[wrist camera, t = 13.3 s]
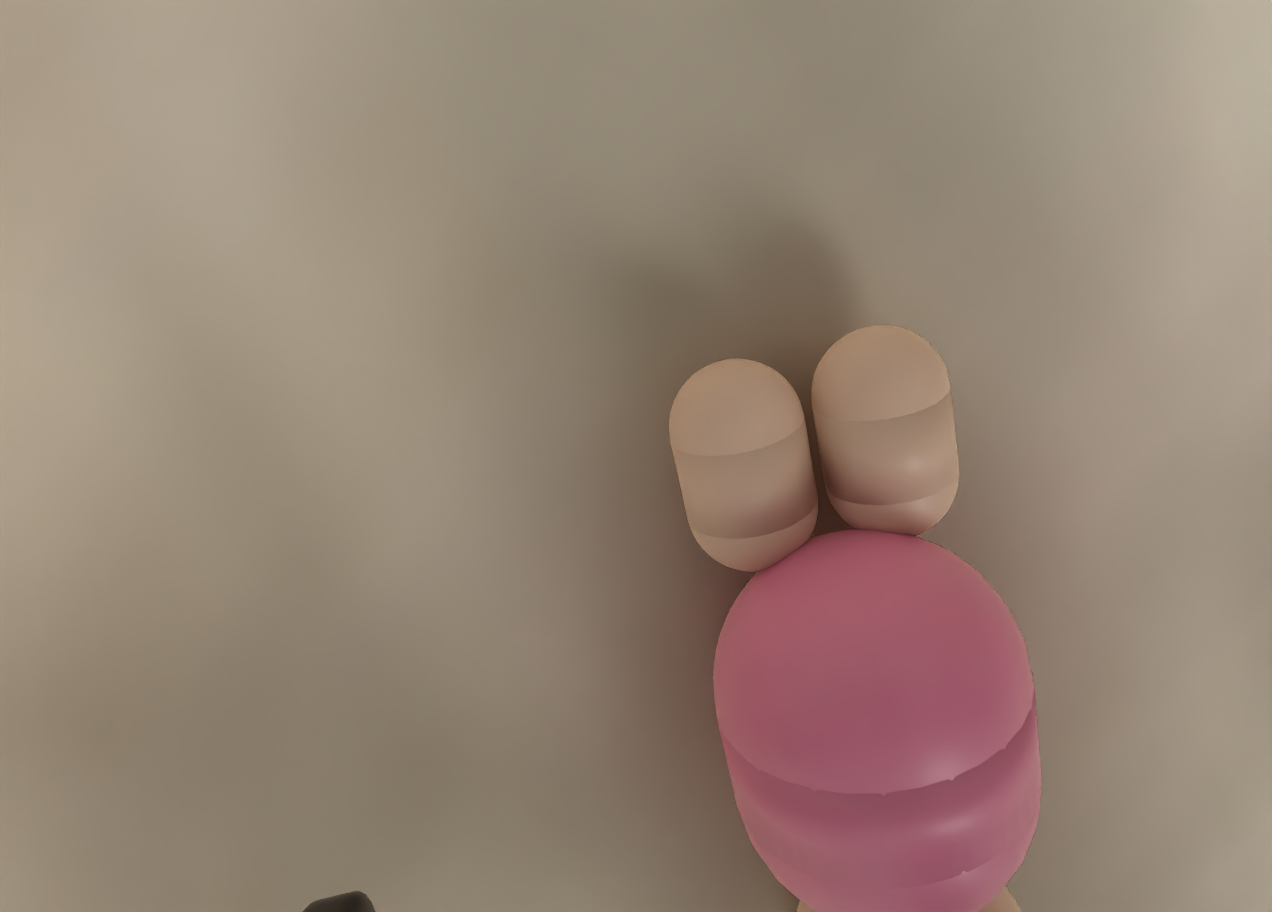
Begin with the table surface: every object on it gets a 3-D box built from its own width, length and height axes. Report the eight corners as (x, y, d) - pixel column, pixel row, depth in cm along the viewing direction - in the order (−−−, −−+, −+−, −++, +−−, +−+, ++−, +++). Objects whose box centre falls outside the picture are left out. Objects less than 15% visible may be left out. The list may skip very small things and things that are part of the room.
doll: (634, 363, 9) (664, 486, 7) (933, 294, 9) (1078, 389, 7) (773, 967, 12) (831, 1212, 10) (1000, 917, 12) (1117, 1149, 10)
